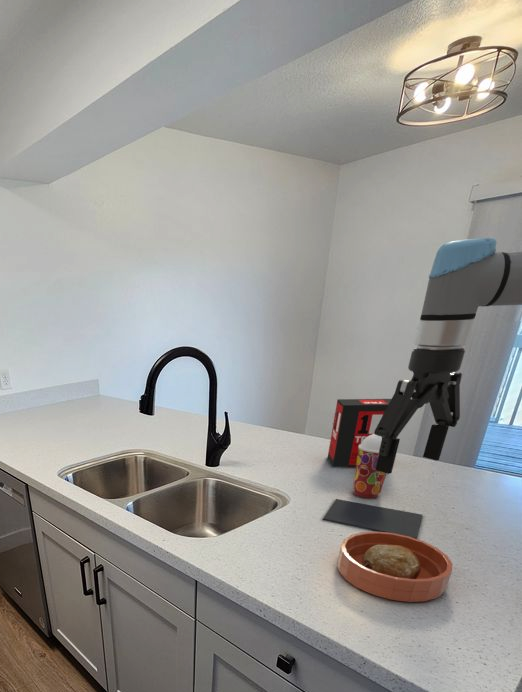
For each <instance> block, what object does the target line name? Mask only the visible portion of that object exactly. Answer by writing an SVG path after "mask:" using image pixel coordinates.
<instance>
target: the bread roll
mask: <svg viewBox="0 0 522 692" xmlns="http://www.w3.org/2000/svg"><path fill="white" fill-rule="evenodd" d="M362 565H363V566H364V567H366V568H369V569H371V570H374V571H376V572H378V573H382V574H386V575H390V576H394V577H399V578H408V579H417V577H418V575H419V574H420V570H421V566H420V562H419V560H418V559H417V557H416V556H415V555H414V554H413V553H412V552H411V551H410V550H409V549H407V548H405V547H403V546H399V545H375V546H373V547H371V548H369V549H368V550H367V551H366V553H365V554H364V556H363V558H362Z"/></svg>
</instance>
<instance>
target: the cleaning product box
mask: <svg viewBox="0 0 522 692" xmlns="http://www.w3.org/2000/svg"><path fill="white" fill-rule="evenodd" d="M391 399H392V398H346V399H345V398H338V399H336V400H337V401H336V406H335V412H334V416H333V417H334V418H333V424H332V430H331V437H330V441H329V447H328V451H327V452H328V453H327V460H328V463H330V465H331V467H332V468H355V469H356V464H357V456H358V449H359V444H361V442H362V441H363V440H364V439H365V438H366V437H368V436H369V435H372V434H374V431H375V429H376V427H377V425H378V424H379V422H380V420H381V418H382V416H383V414H384V412H385V410H386V409H387V407H388V405H389V403H390V401H391ZM383 429H384V428H383ZM393 431H394V430H393Z"/></svg>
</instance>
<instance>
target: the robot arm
mask: <svg viewBox="0 0 522 692" xmlns="http://www.w3.org/2000/svg"><path fill="white" fill-rule="evenodd" d="M431 266H432V267H431V270H430V273H429V275H428V282H427V287H426V292H425V296H424V301H423V304H422V311H421V314H420V318H419V323H418V326H417V328H416V329H417V331H416V335H415V339H414V342H413V343H414V345H415V346H417V347H414V348H413V349H412V350H411V354H410V358H409V362H408V367H407V368H408V369H407V370H409V371H411V372H412V373H413V374H412V377H411V379H410V380H407V379H400V380H398V381H397V384H396V387H395V391H394V394H393V395H392V398H390V399H391V401H390V403H389V405H388V407H387V409H386V410H385V412H384V414H383V416H382V418H381V420H380V422H379V424H378V425H377V427H376V429H375V431H374V434H375V435H377V436H381V437H382V441H381V445H380V450H379V457H378V461H377V465H376V470H378V471H381V472H384V473H386V475H387V474H388V475H390V474H392V473H393V469H394V465H395V461H396V457H397V454H398V448H399V444H400V439H401V438H398V437H399V436H400V435H401V433H402V431H403V430H404V428H406V425H408V423H409V421H411V420H412V418H413V416H414V415H415V414H416V412H417V411H418V409H421V408H423V407H424V405H427V404H429V406H430V409H431V413H432V416H433V419H434V422H435V423H434V424H431V426H430V430H429V433H428V437H427V440H426V443H425V448H424V451H423V454H422V458H425V459H429V460H433V461H440V458H441V455H442V452H443V448H444V444H445V441H446V438H447V434H448V431H449V427H451V428H455V427H456V426H457V424H458V421H459V420H460V418H461V396H460V395H461V392H460V391H461V386H460V385H461V380H462V376H463V373H462V372H458V371H459V370H460V369H461V367H462V364H463V359H464V357H465V353H466V350H465V348H464V347H463V346H466V345H468V343H469V339H470V336H471V332H472V329H473V325H474V321H475V318H476V317H477V312H478V309H479V307H491V306H492V307H494V306H497V307H498V306H499V307H500V306H522V249H519V250H515V251H508V252H505V251H502V252H501V251H497V239H496V238H494V237H480V238H479V237H478V238H467V239H459V240H453V241H449V242H446V243H444V244H442V245H441V246H440V247H439V248H438V250H437V251H436V254H435V257H434V259H433V262H432V265H431ZM383 428H384V429H383ZM393 430H394V431H393Z"/></svg>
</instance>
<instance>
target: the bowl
mask: <svg viewBox="0 0 522 692" xmlns="http://www.w3.org/2000/svg"><path fill="white" fill-rule="evenodd" d="M375 545H399V546H403V547H405V548H407V549H409V550H410V551H411V552H412V553H413V554H414V555H415V556H416V557H417V559H418V560H419V562H420V566H421V570H420V574H419V575H418V577H417V579H408V578H399V577H394V576H390V575H386V574H382V573H378V572H376V571H374V570H371V569H369V568H366V567H364V566H363V565H362V558H363V556H364V554H365V553H366V551H367V550H368V549H369V548H371V547H373V546H375ZM336 564H337V569H338V572H339V574H340V575H341V576H342V577H343V578H344V580H346V581H347V582H348V583H350V584H351V585H353V586H354V587H356V588H357V589H360V590H362V591H364V592H366V593H369V594H370V595H373V596H376V597H379V598H384V599H387V600H390V601H391V600H393V601H398V602H408V603H414V602H415V603H416V602H427V601H432V600H434V599H437V598H440V596H442V594H443V593H445V591H446V590H447V586H448V583H449V581H450V579H451V576H452V572H453V565H454V564H453V562H452V560H451V559H450V558H449V556H448V555H447V554H445V553H444V552H443V551H442V550H441V549H439V548H438V547H436V546H434V545H432V544H430V543H428V542H426V541H424V540H421V539H418V538H416V539H415V538H412V537H409V536H404V535H400V534H395V533H388V532H379V531H362V532H357V533H353V534H351V535H349V536H347V537H346V538H343V541H342V543H341V544H340V548H339V553H338V558H337V562H336Z"/></svg>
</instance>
